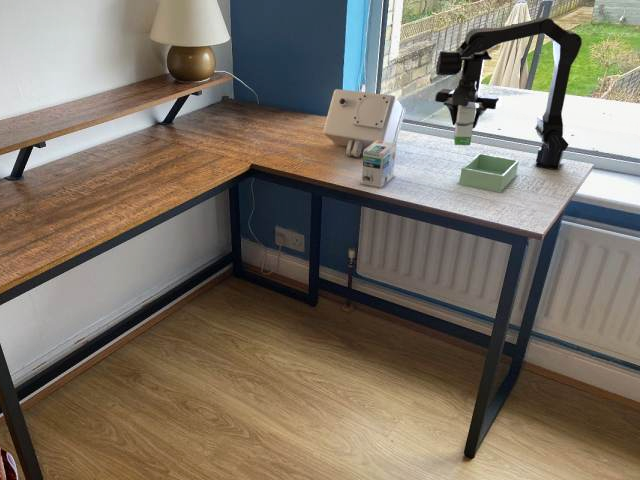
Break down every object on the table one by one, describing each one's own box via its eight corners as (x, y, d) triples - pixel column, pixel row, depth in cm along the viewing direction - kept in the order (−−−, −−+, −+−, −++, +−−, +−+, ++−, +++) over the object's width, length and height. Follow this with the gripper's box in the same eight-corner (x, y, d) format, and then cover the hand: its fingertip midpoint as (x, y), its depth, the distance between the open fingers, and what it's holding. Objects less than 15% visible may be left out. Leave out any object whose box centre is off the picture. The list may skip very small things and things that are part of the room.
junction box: (310, 144, 201) (328, 80, 200) (326, 156, 215) (343, 96, 213) (377, 155, 190) (396, 87, 189) (389, 167, 204) (407, 104, 202)
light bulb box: (381, 188, 179) (384, 153, 173) (360, 184, 182) (362, 150, 176) (394, 176, 186) (397, 142, 181) (373, 172, 190) (376, 139, 184)
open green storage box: (515, 175, 184) (519, 160, 181) (500, 192, 174) (503, 176, 171) (476, 168, 190) (479, 153, 187) (459, 183, 180) (461, 168, 177)
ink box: (470, 146, 185) (476, 107, 179) (454, 145, 187) (459, 107, 180) (469, 136, 192) (475, 99, 186) (453, 136, 194) (458, 99, 187)
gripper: (431, 77, 178) (425, 128, 186) (493, 84, 168) (484, 138, 177) (445, 69, 186) (439, 119, 194) (506, 76, 176) (497, 128, 184)
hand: (463, 126), depth 187 cm, fingers closed on ink box, 6 cm apart
